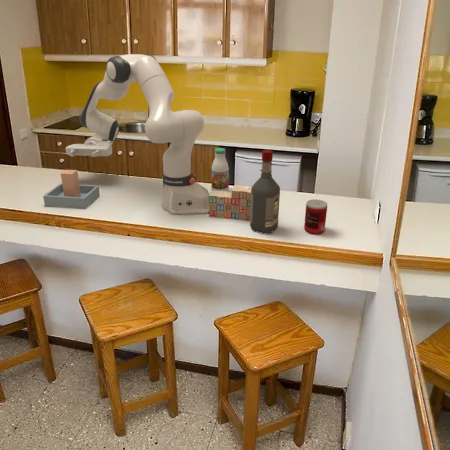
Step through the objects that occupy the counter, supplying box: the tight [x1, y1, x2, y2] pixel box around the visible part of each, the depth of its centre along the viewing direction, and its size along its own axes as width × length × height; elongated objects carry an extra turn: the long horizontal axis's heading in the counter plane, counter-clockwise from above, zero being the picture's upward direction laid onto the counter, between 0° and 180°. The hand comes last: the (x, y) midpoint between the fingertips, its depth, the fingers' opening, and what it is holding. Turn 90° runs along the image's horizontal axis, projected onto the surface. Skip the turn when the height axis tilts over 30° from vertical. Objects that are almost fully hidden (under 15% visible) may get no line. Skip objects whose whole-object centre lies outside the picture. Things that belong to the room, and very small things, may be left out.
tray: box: [42, 183, 101, 210], centre depth 195 cm, size 18×15×4 cm
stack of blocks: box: [208, 184, 253, 222], centre depth 179 cm, size 21×6×12 cm, turn 77°
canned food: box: [303, 198, 328, 235], centre depth 169 cm, size 8×8×11 cm
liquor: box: [249, 149, 281, 234], centre depth 166 cm, size 9×9×30 cm
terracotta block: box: [60, 169, 81, 197], centre depth 192 cm, size 5×5×12 cm
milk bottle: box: [210, 147, 230, 192], centre depth 201 cm, size 8×8×20 cm
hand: (81, 154), depth 200 cm, fingers open, 8 cm apart
